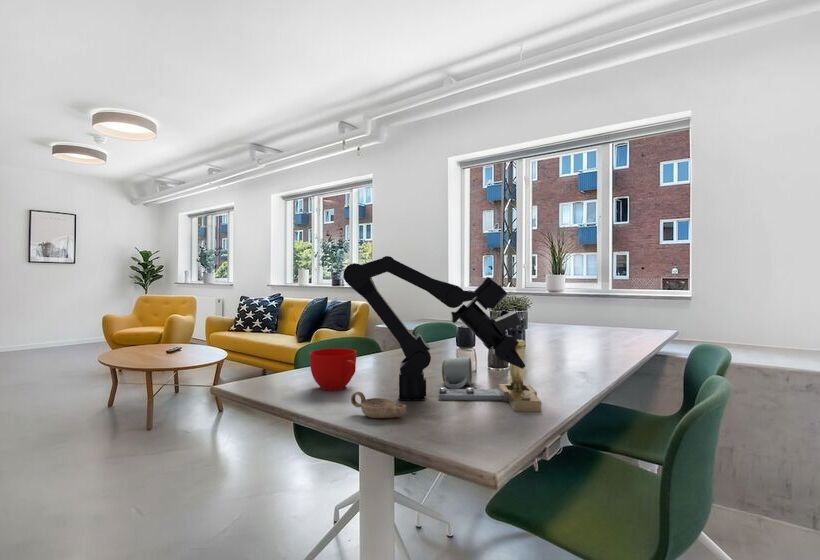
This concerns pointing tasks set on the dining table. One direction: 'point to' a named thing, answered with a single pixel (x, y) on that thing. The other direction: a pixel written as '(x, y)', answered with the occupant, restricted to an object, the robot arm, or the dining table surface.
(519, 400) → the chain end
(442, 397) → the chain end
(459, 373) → the ceramic mug
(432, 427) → the dining table surface
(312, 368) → the ceramic cup
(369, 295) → the robot arm
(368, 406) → the oil lamp
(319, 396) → the dining table surface
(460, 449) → the dining table surface
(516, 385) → the pin
